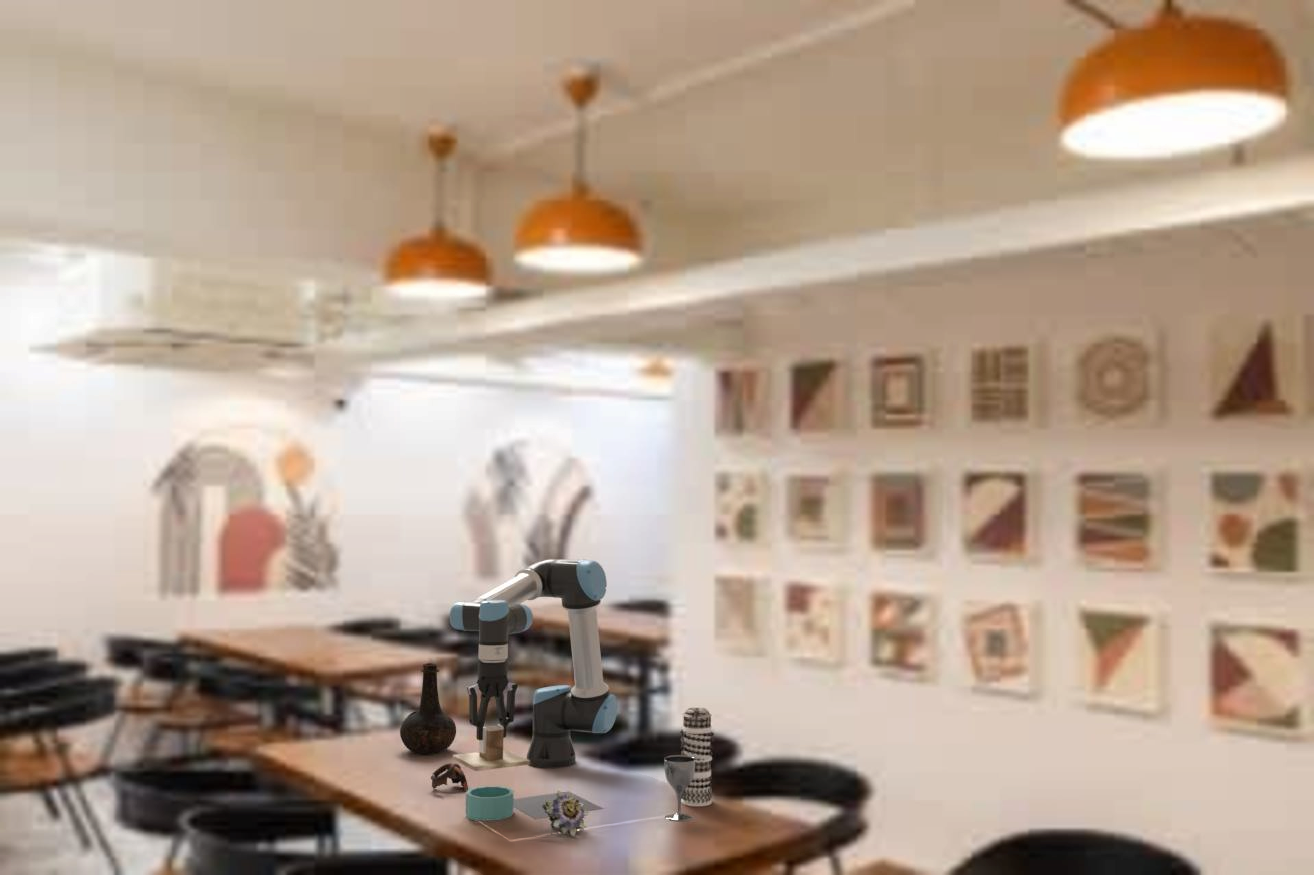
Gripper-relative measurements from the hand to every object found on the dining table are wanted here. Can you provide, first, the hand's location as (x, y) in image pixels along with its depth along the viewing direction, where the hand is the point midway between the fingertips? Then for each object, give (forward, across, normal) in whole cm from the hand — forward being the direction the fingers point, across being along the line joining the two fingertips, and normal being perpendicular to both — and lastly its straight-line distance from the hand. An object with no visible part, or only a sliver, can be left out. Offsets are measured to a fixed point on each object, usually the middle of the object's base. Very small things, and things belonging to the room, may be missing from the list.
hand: (491, 751), depth 297 cm
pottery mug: (+17, +1, +30) cm, 34 cm away
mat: (+16, +18, 0) cm, 24 cm away
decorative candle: (+17, +54, -15) cm, 58 cm away
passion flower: (+17, +10, -22) cm, 29 cm away
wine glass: (+17, +42, -25) cm, 52 cm away
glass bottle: (+17, +12, +77) cm, 80 cm away
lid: (+3, 0, 0) cm, 3 cm away
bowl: (+16, 0, 0) cm, 16 cm away
